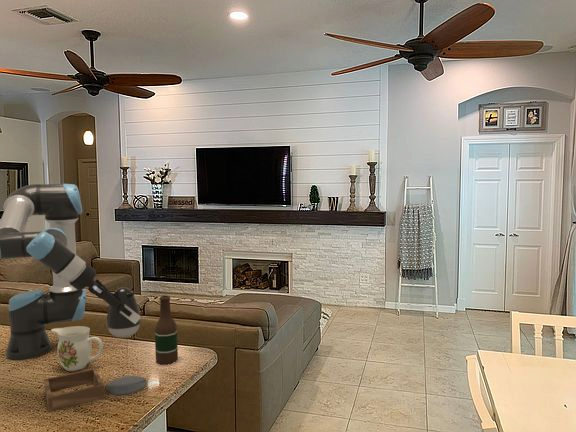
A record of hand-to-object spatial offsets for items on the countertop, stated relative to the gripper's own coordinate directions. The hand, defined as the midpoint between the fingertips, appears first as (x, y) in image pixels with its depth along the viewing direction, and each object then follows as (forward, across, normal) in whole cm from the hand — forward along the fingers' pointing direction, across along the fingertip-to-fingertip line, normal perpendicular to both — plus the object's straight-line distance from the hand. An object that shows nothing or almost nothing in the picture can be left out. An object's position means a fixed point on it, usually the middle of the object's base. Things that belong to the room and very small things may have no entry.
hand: (133, 316), depth 145 cm
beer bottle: (+26, -13, -6) cm, 30 cm away
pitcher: (+6, -25, -26) cm, 37 cm away
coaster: (+14, 0, -18) cm, 23 cm away
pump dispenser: (+2, 0, -6) cm, 6 cm away
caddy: (+3, -3, -29) cm, 29 cm away
